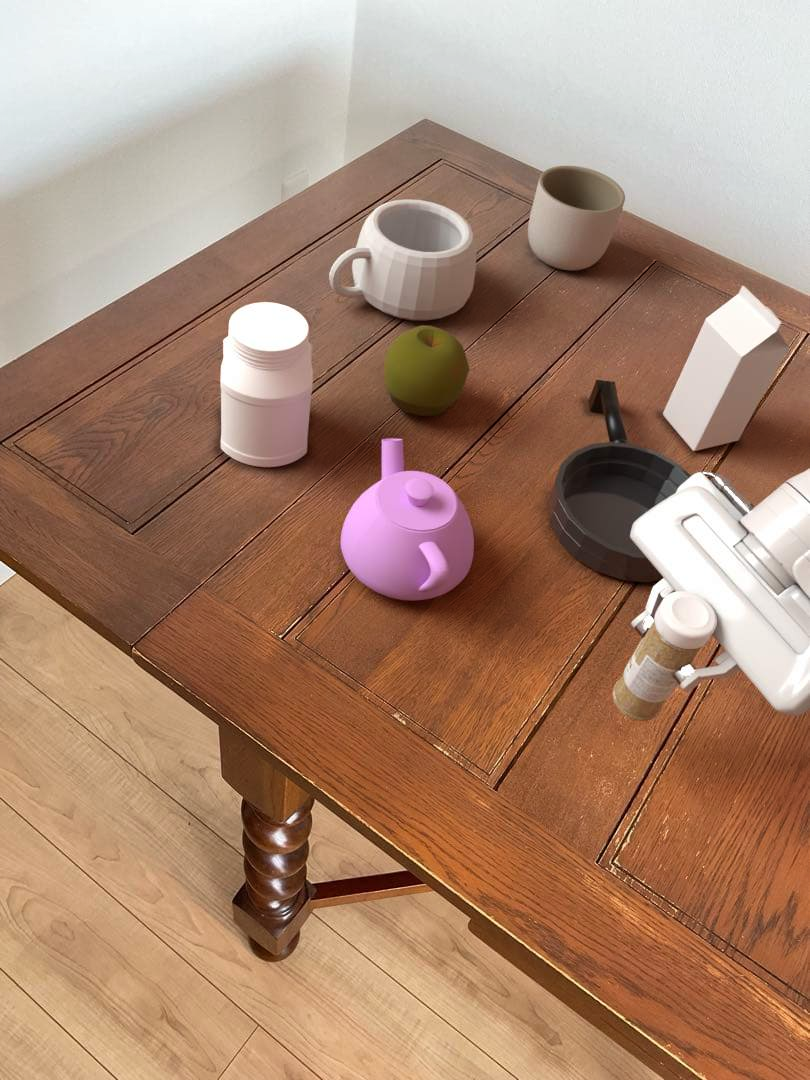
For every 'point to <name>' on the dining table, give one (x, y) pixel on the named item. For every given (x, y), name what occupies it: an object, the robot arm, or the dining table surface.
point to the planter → (573, 216)
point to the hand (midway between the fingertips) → (658, 657)
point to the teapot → (407, 533)
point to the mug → (411, 261)
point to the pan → (610, 505)
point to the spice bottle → (663, 654)
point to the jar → (266, 385)
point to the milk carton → (726, 372)
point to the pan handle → (608, 409)
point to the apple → (425, 370)
